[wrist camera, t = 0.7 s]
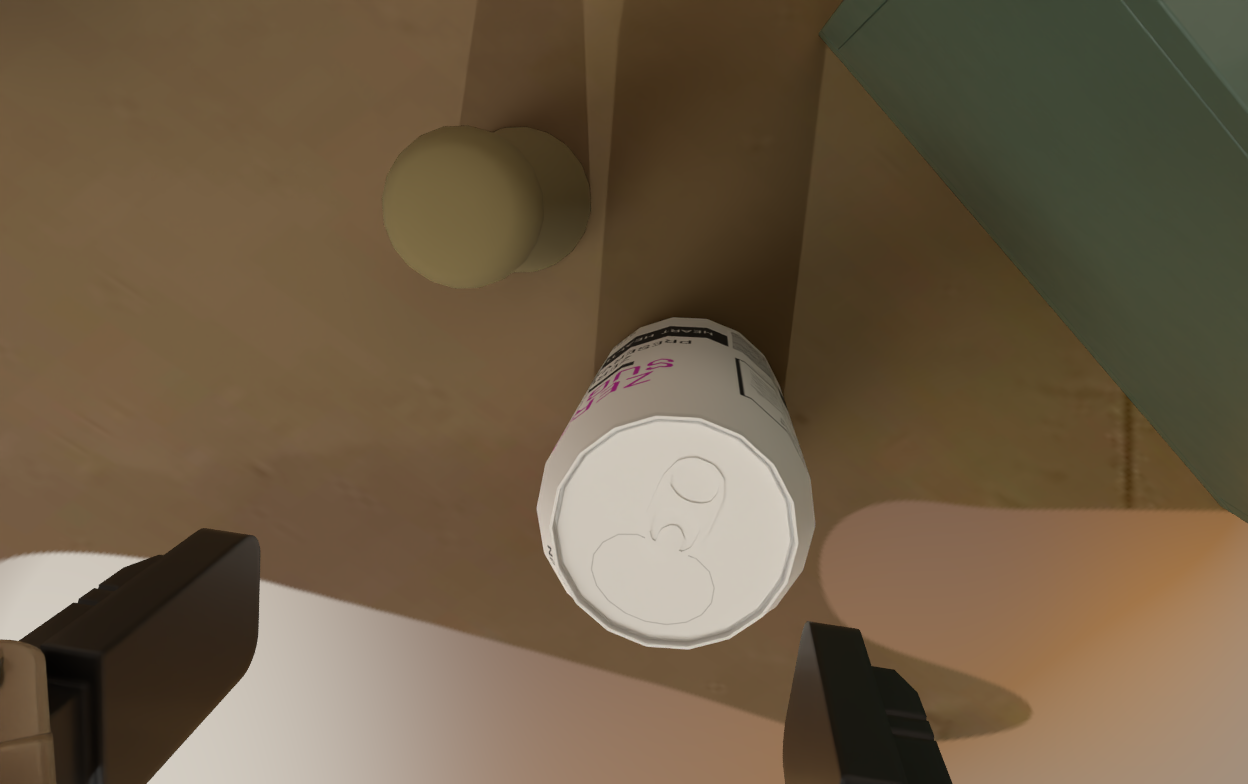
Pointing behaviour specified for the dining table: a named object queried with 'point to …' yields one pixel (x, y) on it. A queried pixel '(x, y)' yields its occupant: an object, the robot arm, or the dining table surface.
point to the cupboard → (1096, 179)
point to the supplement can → (678, 489)
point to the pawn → (484, 204)
